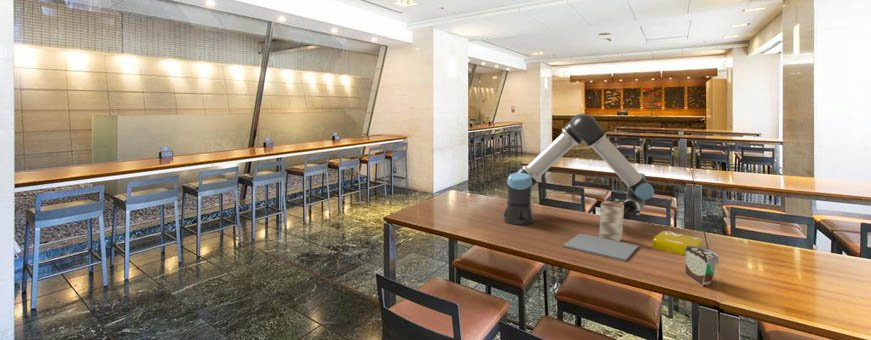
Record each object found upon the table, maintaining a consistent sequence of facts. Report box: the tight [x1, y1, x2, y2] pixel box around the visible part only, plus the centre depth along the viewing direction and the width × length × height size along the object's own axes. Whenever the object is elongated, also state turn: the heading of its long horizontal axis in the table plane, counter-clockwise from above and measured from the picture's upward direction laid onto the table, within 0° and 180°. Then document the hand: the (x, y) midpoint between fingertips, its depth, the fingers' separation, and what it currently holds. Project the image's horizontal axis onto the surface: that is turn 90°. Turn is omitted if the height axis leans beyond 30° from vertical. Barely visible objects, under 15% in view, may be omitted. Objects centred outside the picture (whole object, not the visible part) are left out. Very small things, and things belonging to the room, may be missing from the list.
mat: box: [562, 232, 639, 263], centre depth 160 cm, size 24×19×1 cm
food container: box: [684, 246, 720, 287], centre depth 129 cm, size 12×6×10 cm, turn 179°
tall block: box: [598, 200, 624, 242], centre depth 168 cm, size 8×5×16 cm, turn 50°
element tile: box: [651, 230, 704, 256], centre depth 159 cm, size 15×15×5 cm
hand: (614, 219), depth 170 cm, fingers closed
